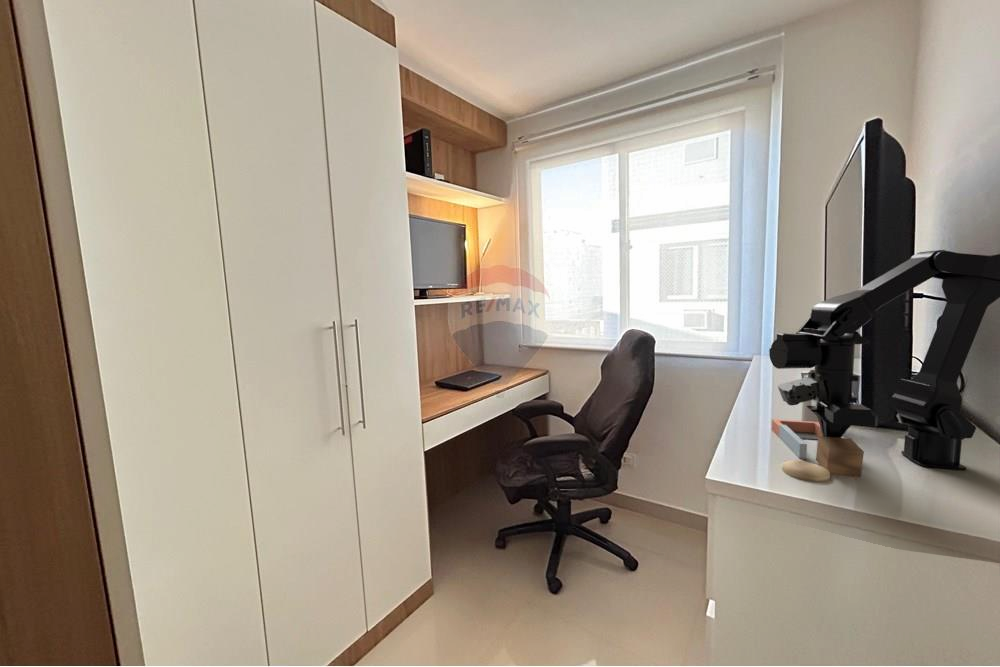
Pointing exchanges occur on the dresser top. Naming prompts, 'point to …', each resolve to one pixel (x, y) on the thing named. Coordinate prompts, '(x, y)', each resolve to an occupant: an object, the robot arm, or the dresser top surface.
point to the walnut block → (840, 456)
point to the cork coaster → (806, 471)
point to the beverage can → (806, 413)
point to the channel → (793, 441)
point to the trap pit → (799, 428)
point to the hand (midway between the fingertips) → (829, 446)
